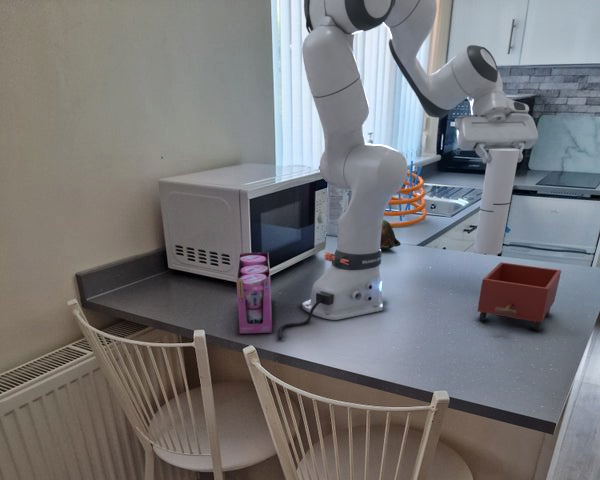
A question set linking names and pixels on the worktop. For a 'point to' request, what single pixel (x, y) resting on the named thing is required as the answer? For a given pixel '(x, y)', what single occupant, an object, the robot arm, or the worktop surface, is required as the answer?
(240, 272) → the gum box
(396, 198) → the orange spiral coil
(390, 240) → the bronze bell
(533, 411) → the worktop surface
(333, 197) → the juice carton
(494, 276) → the toy cart
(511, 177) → the cylindrical container
